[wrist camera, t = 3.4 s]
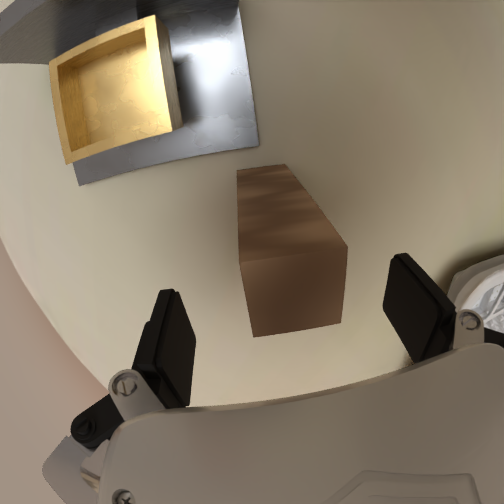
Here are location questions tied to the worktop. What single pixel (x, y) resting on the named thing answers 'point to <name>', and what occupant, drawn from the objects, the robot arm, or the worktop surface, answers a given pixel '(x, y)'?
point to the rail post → (287, 254)
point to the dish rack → (481, 291)
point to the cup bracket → (137, 78)
